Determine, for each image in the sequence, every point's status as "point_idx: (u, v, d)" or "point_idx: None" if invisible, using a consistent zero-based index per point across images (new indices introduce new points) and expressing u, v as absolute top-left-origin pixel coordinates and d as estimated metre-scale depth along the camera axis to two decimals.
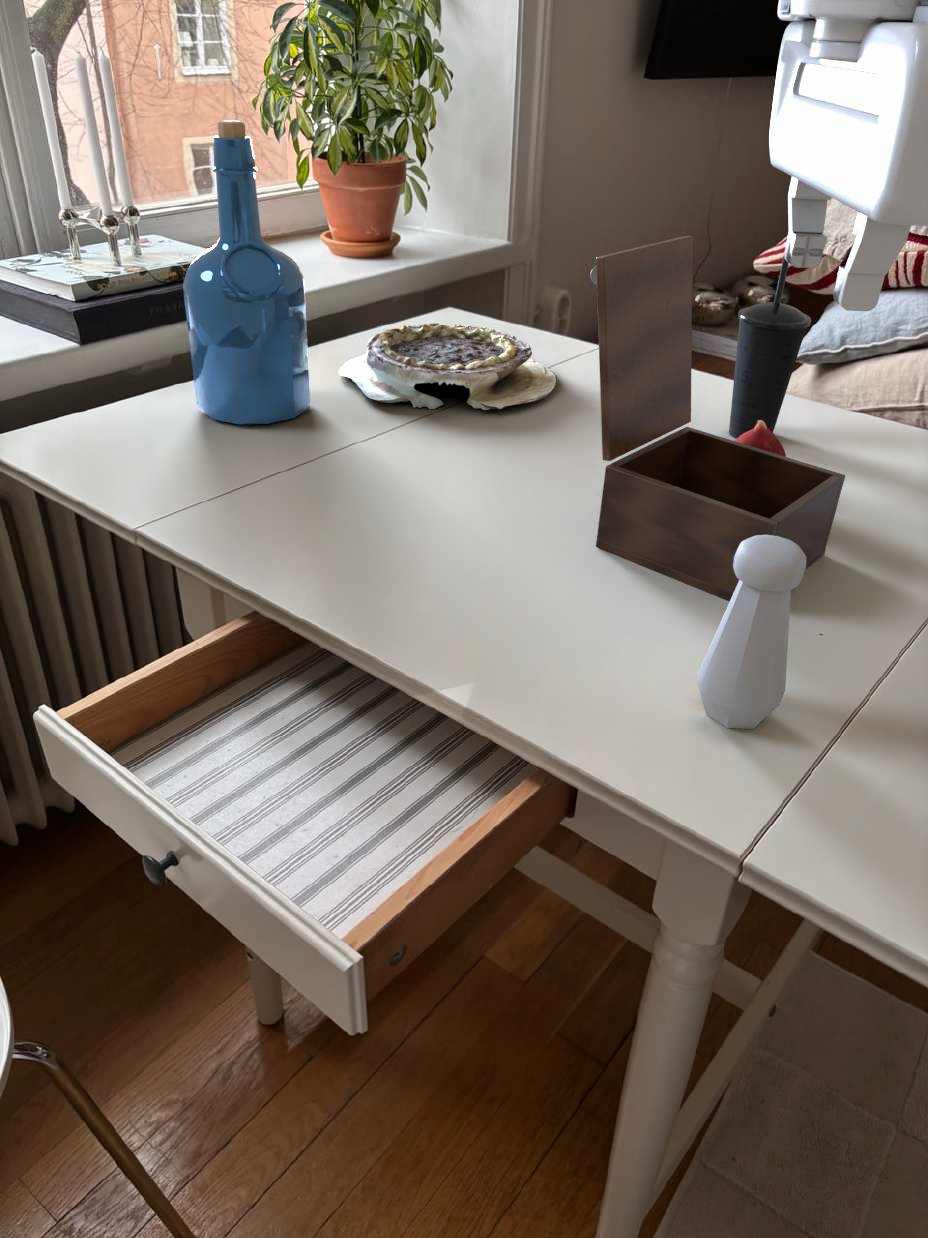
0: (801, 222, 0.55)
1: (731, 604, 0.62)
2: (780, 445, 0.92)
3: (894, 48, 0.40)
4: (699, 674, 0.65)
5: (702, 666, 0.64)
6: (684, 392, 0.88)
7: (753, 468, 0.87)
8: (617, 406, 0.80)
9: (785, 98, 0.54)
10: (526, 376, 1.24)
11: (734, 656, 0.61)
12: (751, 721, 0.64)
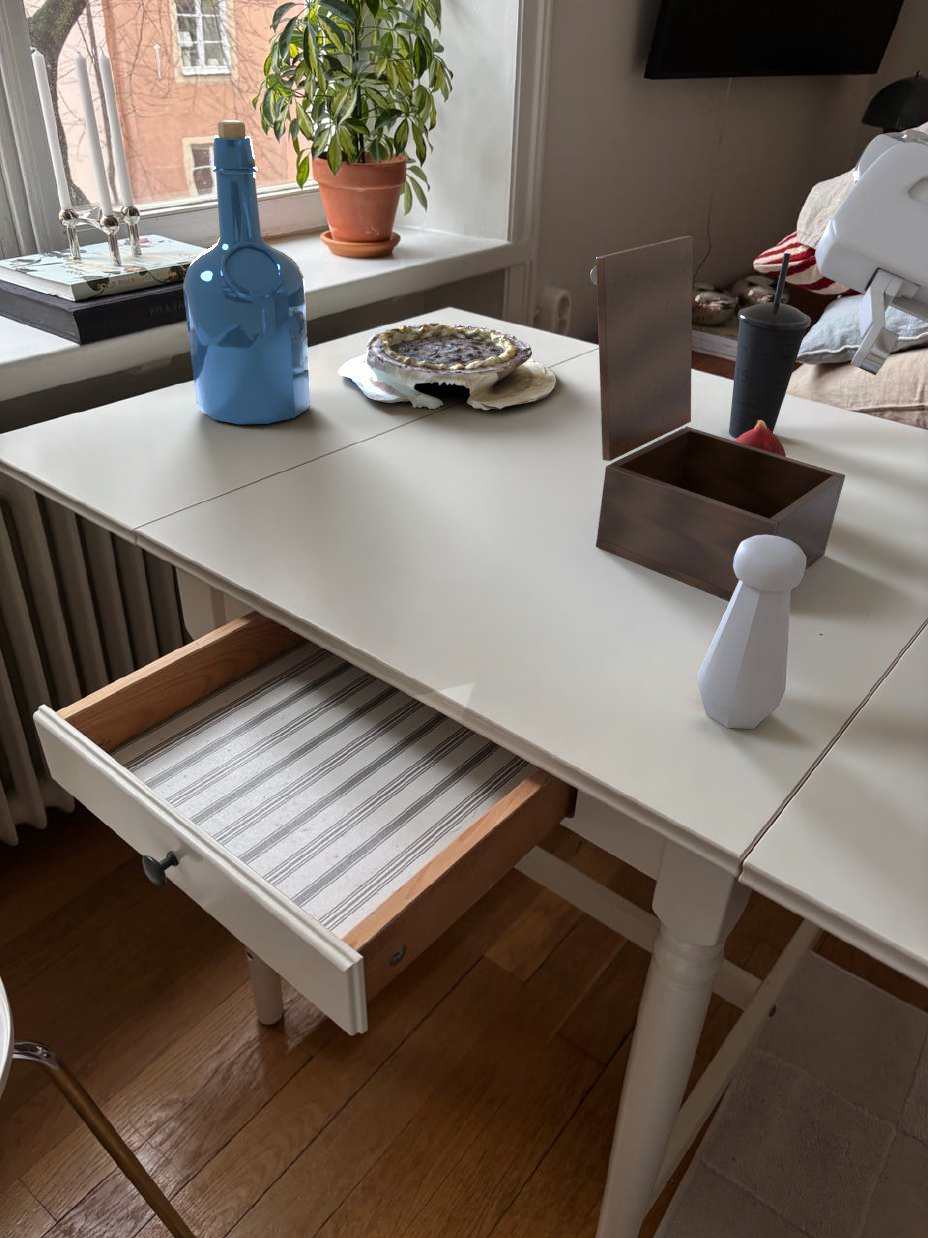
0: None
1: (731, 604, 0.62)
2: (780, 445, 0.92)
3: None
4: (699, 674, 0.65)
5: (702, 666, 0.64)
6: (684, 392, 0.88)
7: (753, 468, 0.87)
8: (617, 406, 0.80)
9: None
10: (526, 376, 1.24)
11: (734, 656, 0.61)
12: (751, 721, 0.64)
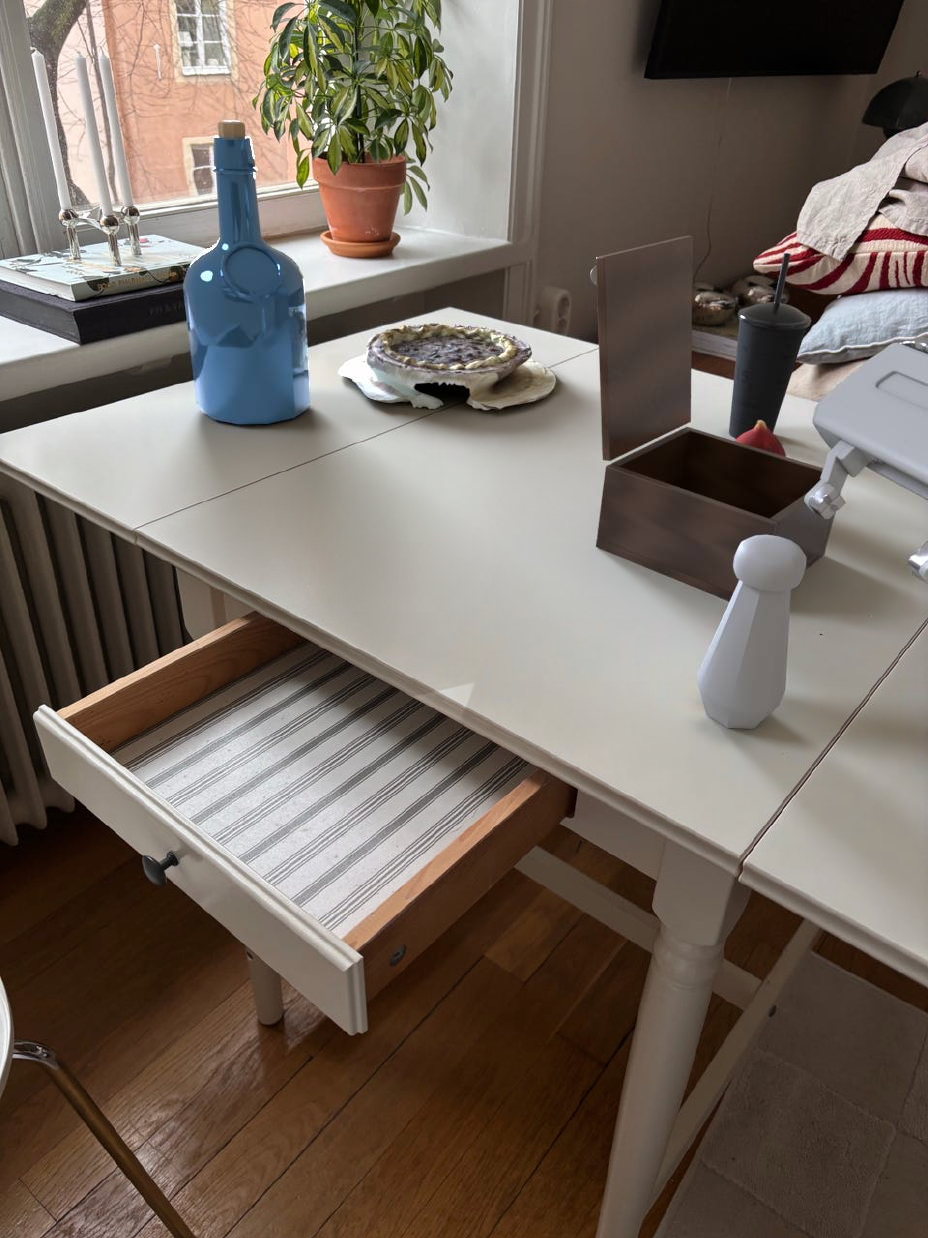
0: None
1: (731, 604, 0.62)
2: (780, 445, 0.92)
3: None
4: (699, 674, 0.65)
5: (702, 666, 0.64)
6: (684, 392, 0.88)
7: (753, 468, 0.87)
8: (617, 406, 0.80)
9: None
10: (526, 376, 1.24)
11: (734, 656, 0.61)
12: (751, 721, 0.64)
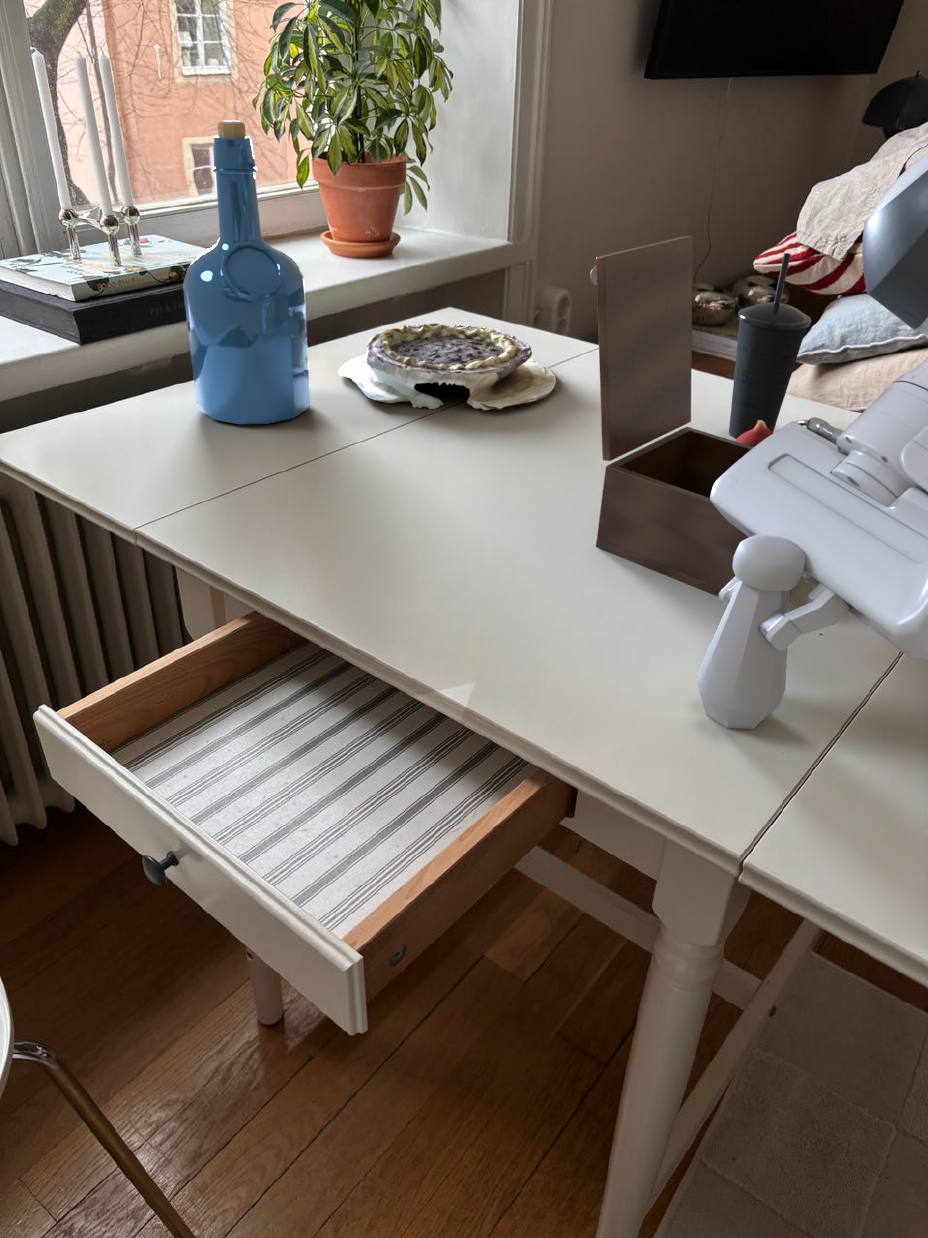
0: None
1: (731, 604, 0.62)
2: None
3: None
4: (699, 674, 0.65)
5: (702, 666, 0.64)
6: (684, 392, 0.88)
7: None
8: (617, 406, 0.80)
9: None
10: (526, 376, 1.24)
11: (733, 656, 0.61)
12: (751, 721, 0.64)
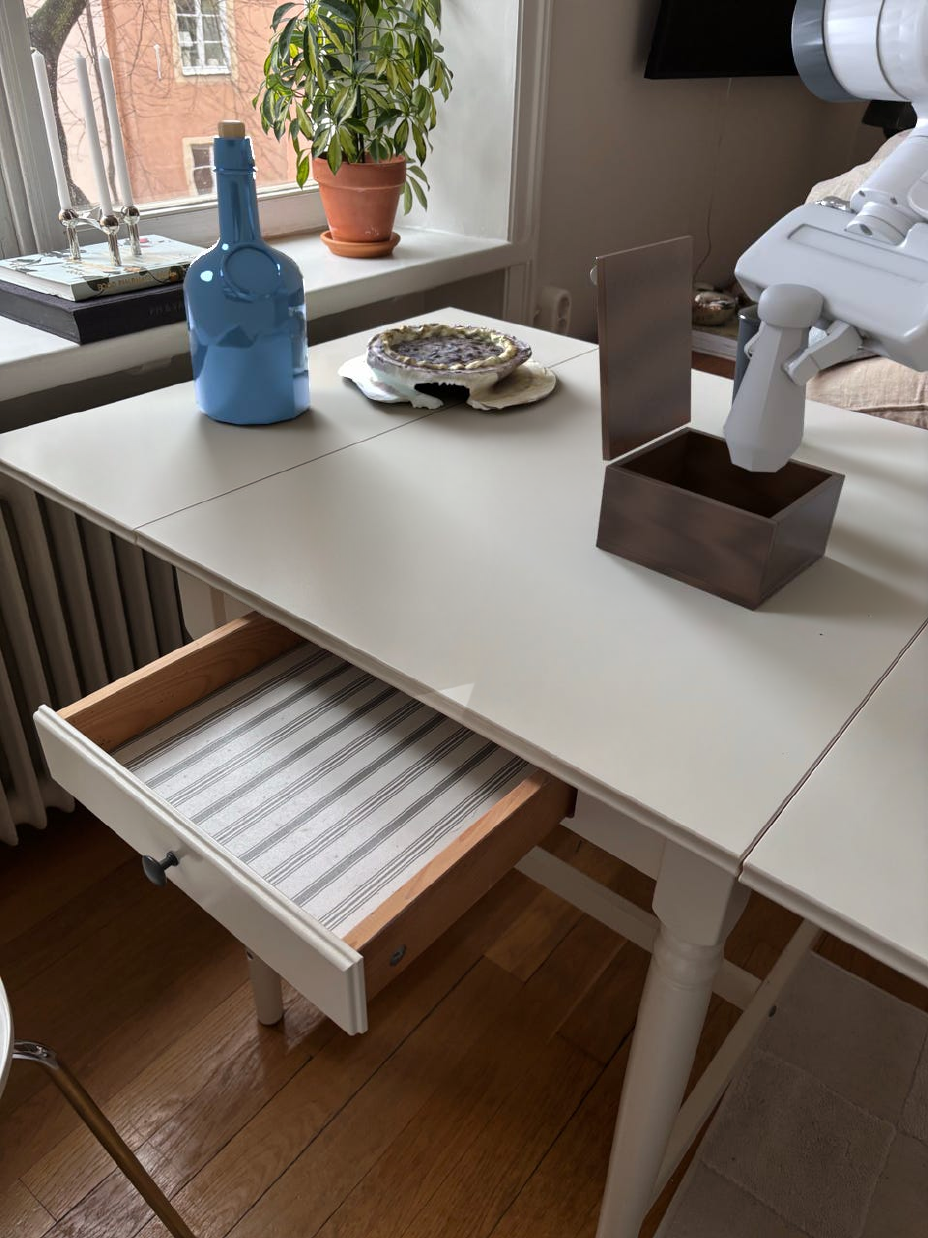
0: None
1: (755, 350, 0.69)
2: None
3: None
4: (726, 424, 0.72)
5: (728, 416, 0.72)
6: (684, 392, 0.88)
7: None
8: (617, 406, 0.80)
9: None
10: (526, 376, 1.24)
11: (758, 396, 0.69)
12: (773, 462, 0.71)
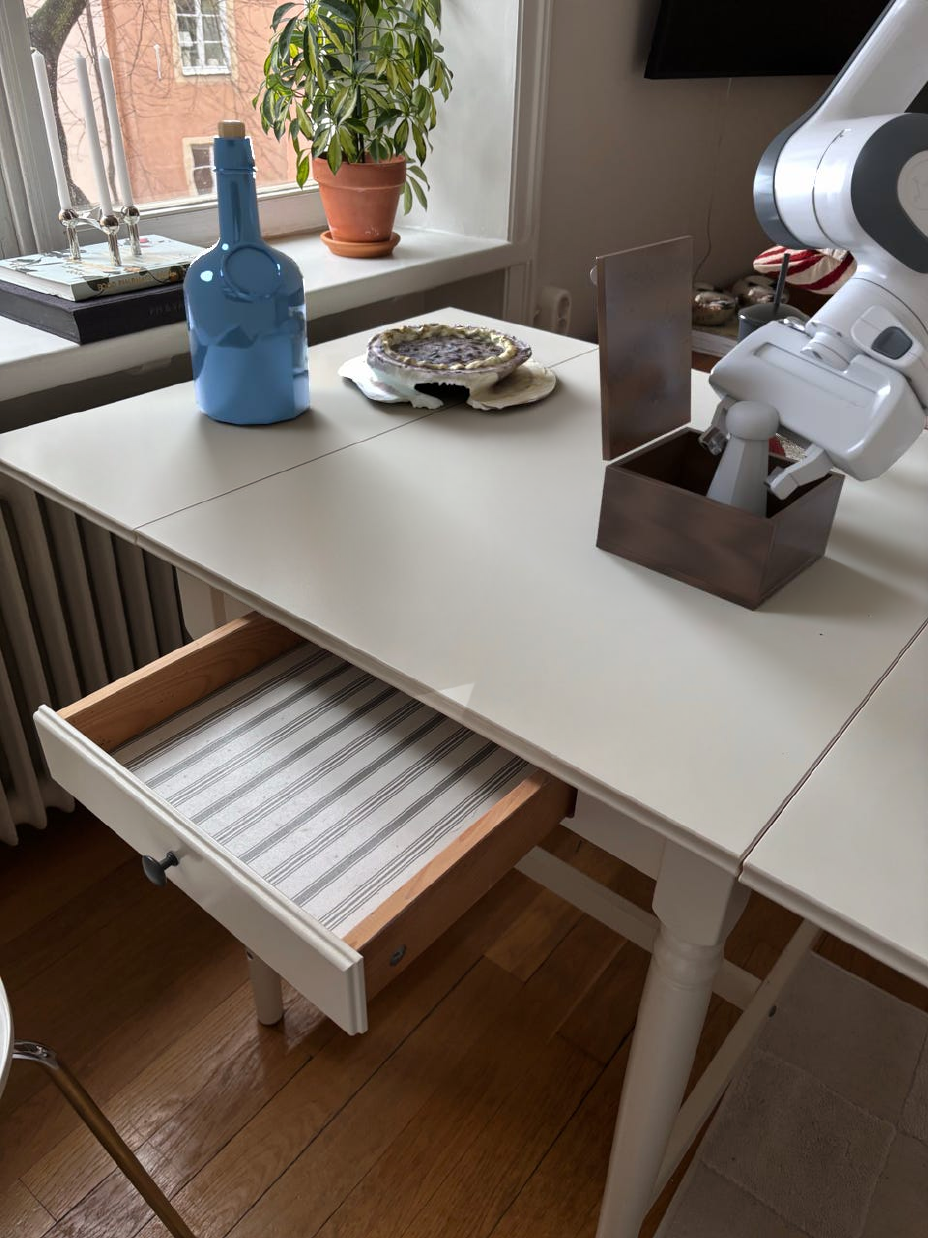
0: None
1: (723, 455, 0.81)
2: (780, 445, 0.92)
3: None
4: None
5: None
6: (684, 392, 0.88)
7: None
8: (617, 406, 0.80)
9: None
10: (526, 376, 1.24)
11: (725, 495, 0.81)
12: None
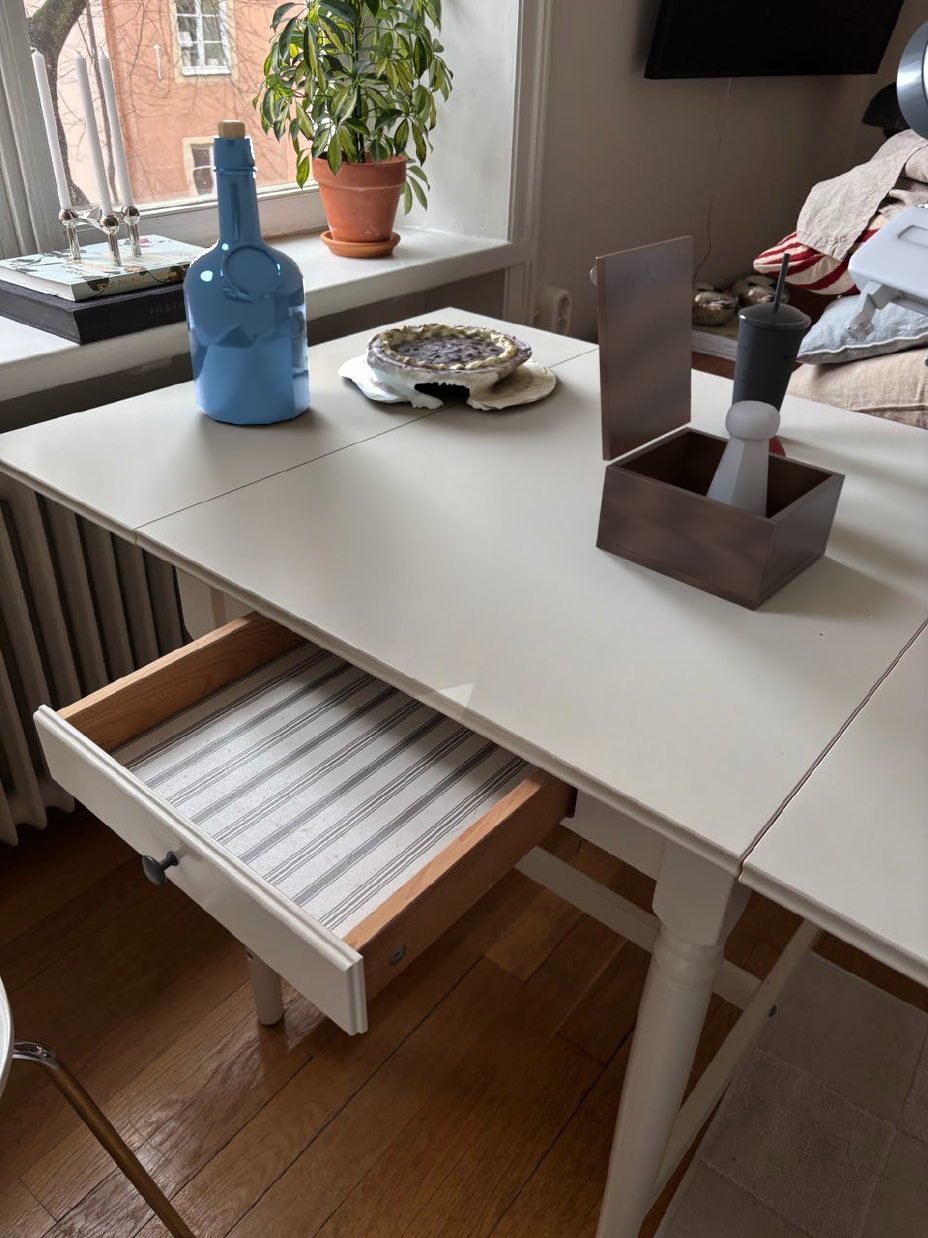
0: None
1: (723, 455, 0.81)
2: (780, 445, 0.92)
3: None
4: None
5: None
6: (684, 392, 0.88)
7: None
8: (617, 406, 0.80)
9: None
10: (526, 376, 1.24)
11: (725, 495, 0.81)
12: None
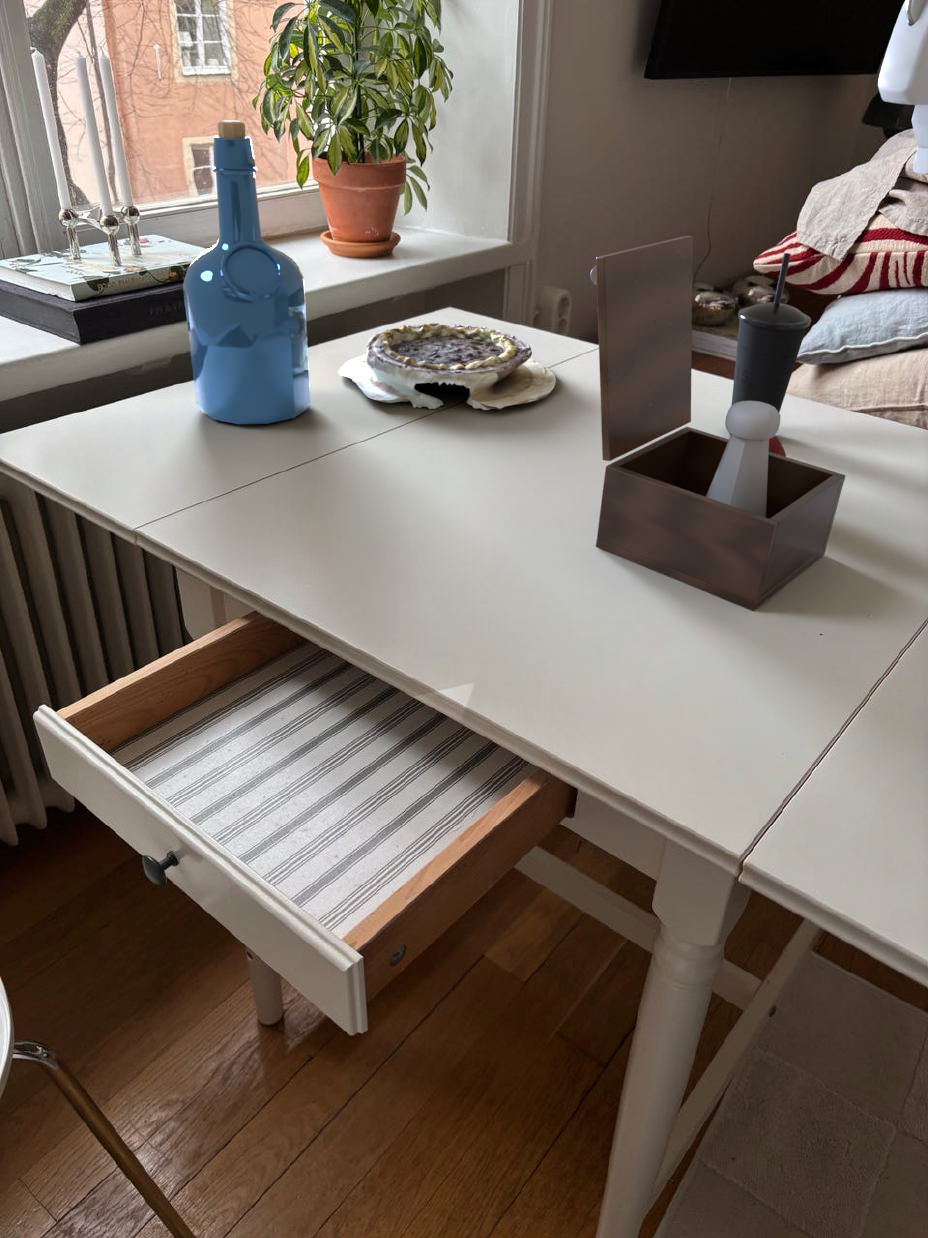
0: None
1: (723, 455, 0.81)
2: (780, 445, 0.92)
3: None
4: None
5: None
6: (684, 392, 0.88)
7: None
8: (617, 406, 0.80)
9: None
10: (526, 376, 1.24)
11: (725, 495, 0.81)
12: None
